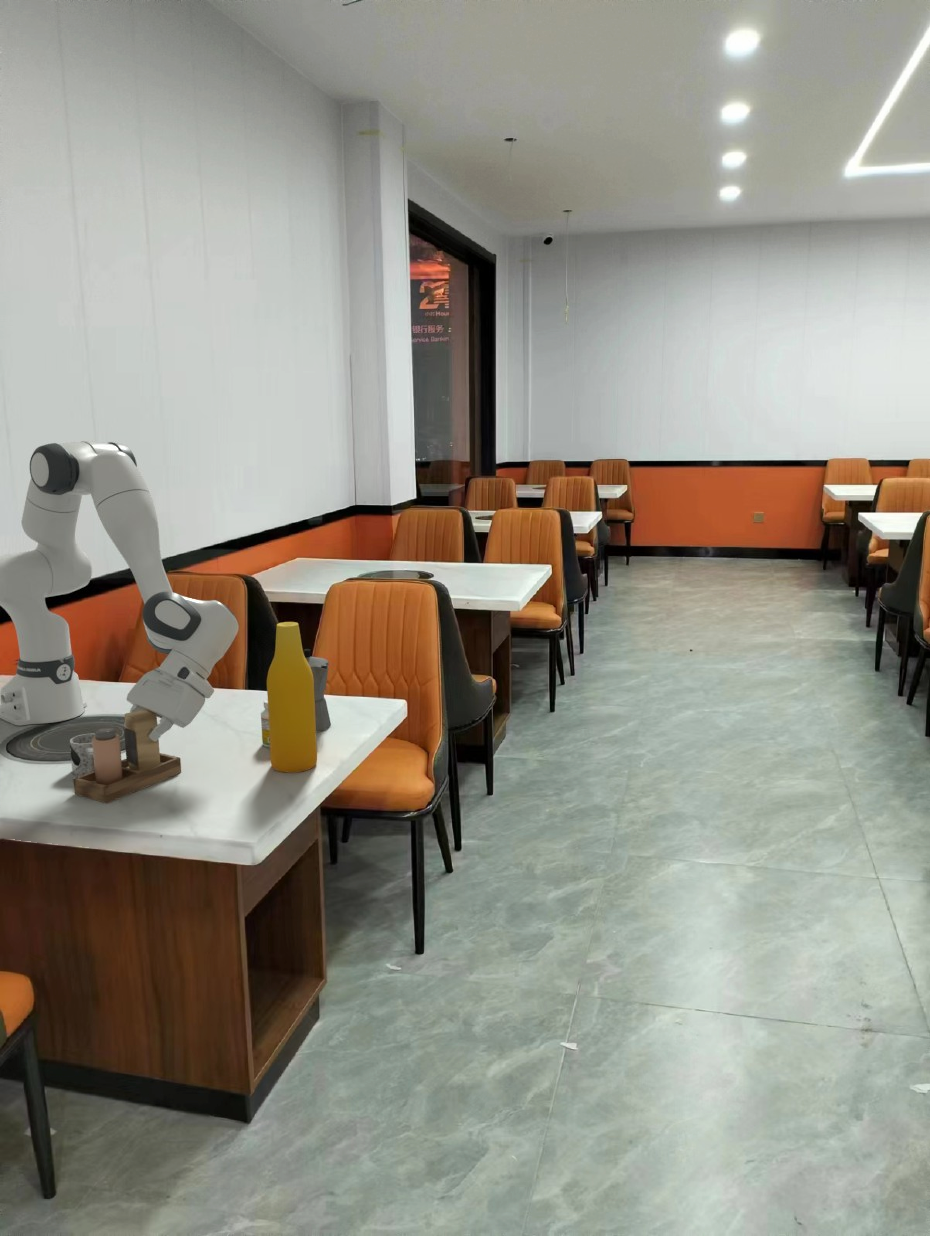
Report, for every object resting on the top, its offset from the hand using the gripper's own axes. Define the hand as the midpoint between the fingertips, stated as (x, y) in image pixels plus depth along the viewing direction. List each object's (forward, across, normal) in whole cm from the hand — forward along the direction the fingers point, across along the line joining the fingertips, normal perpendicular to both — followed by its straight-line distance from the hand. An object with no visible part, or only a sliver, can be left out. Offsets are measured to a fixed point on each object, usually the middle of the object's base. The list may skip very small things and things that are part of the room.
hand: (139, 733), depth 192 cm
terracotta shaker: (+11, +2, 0) cm, 11 cm away
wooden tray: (+9, +1, +4) cm, 10 cm away
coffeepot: (-23, -3, +36) cm, 42 cm away
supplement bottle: (-14, +2, +27) cm, 31 cm away
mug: (+11, -9, +2) cm, 14 cm away
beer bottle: (-11, +16, +24) cm, 31 cm away
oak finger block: (+5, 0, +6) cm, 7 cm away
